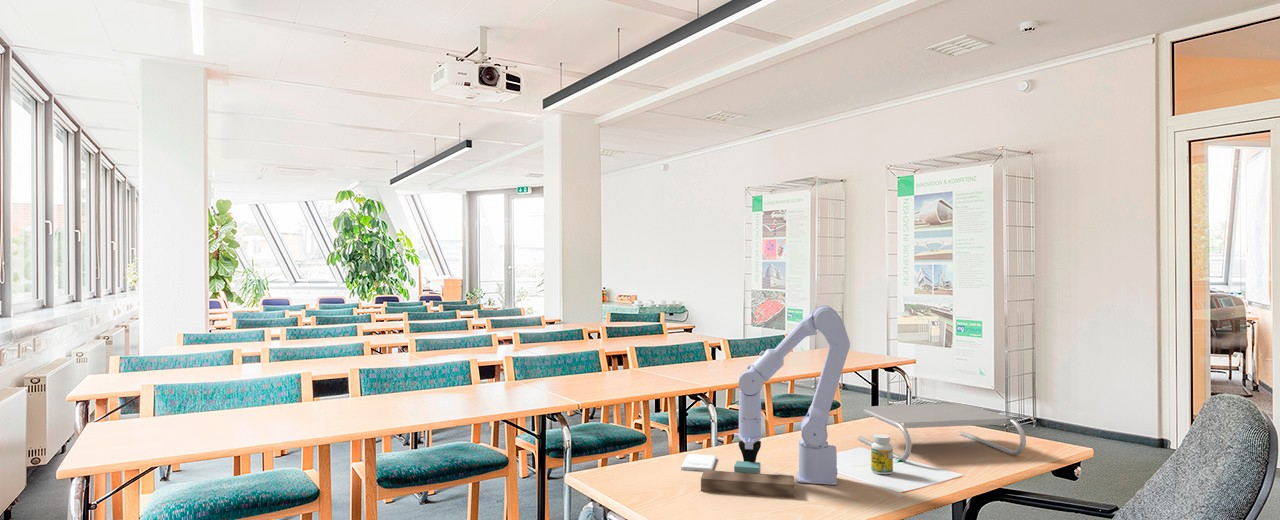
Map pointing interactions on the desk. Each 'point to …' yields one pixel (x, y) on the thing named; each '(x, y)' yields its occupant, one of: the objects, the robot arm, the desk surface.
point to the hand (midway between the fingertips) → (749, 470)
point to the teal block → (747, 467)
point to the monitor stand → (941, 421)
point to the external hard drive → (699, 462)
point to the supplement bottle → (882, 455)
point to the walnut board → (747, 483)
